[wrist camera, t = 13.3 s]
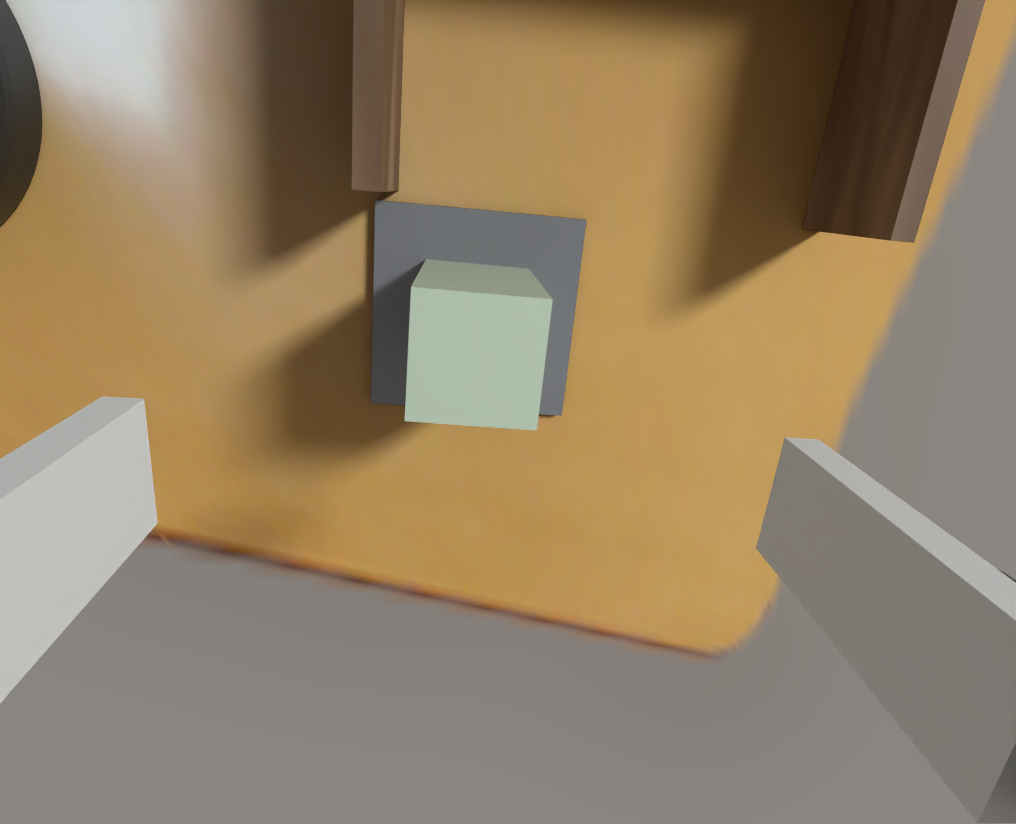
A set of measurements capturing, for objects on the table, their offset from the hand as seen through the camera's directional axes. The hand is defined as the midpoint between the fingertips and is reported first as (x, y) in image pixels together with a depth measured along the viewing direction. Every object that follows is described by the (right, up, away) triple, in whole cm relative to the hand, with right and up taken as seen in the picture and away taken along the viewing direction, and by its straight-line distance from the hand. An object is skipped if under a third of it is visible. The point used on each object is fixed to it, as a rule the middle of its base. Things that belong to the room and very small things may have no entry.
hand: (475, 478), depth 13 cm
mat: (-1, +6, +19) cm, 20 cm away
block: (-1, +6, +18) cm, 19 cm away
